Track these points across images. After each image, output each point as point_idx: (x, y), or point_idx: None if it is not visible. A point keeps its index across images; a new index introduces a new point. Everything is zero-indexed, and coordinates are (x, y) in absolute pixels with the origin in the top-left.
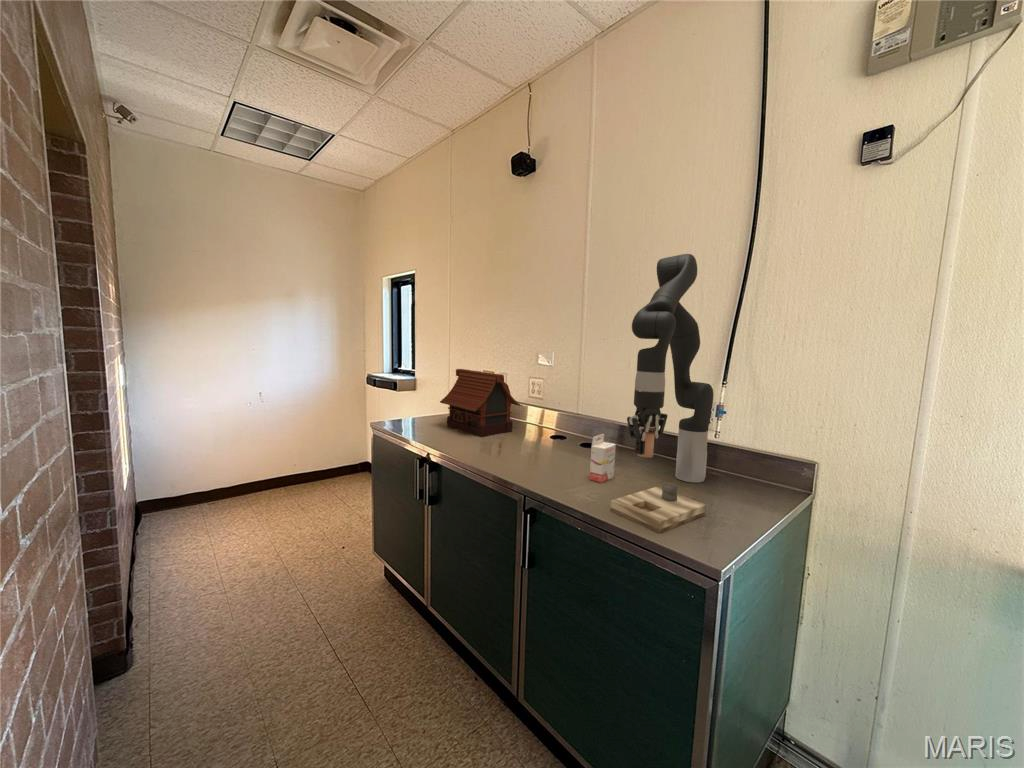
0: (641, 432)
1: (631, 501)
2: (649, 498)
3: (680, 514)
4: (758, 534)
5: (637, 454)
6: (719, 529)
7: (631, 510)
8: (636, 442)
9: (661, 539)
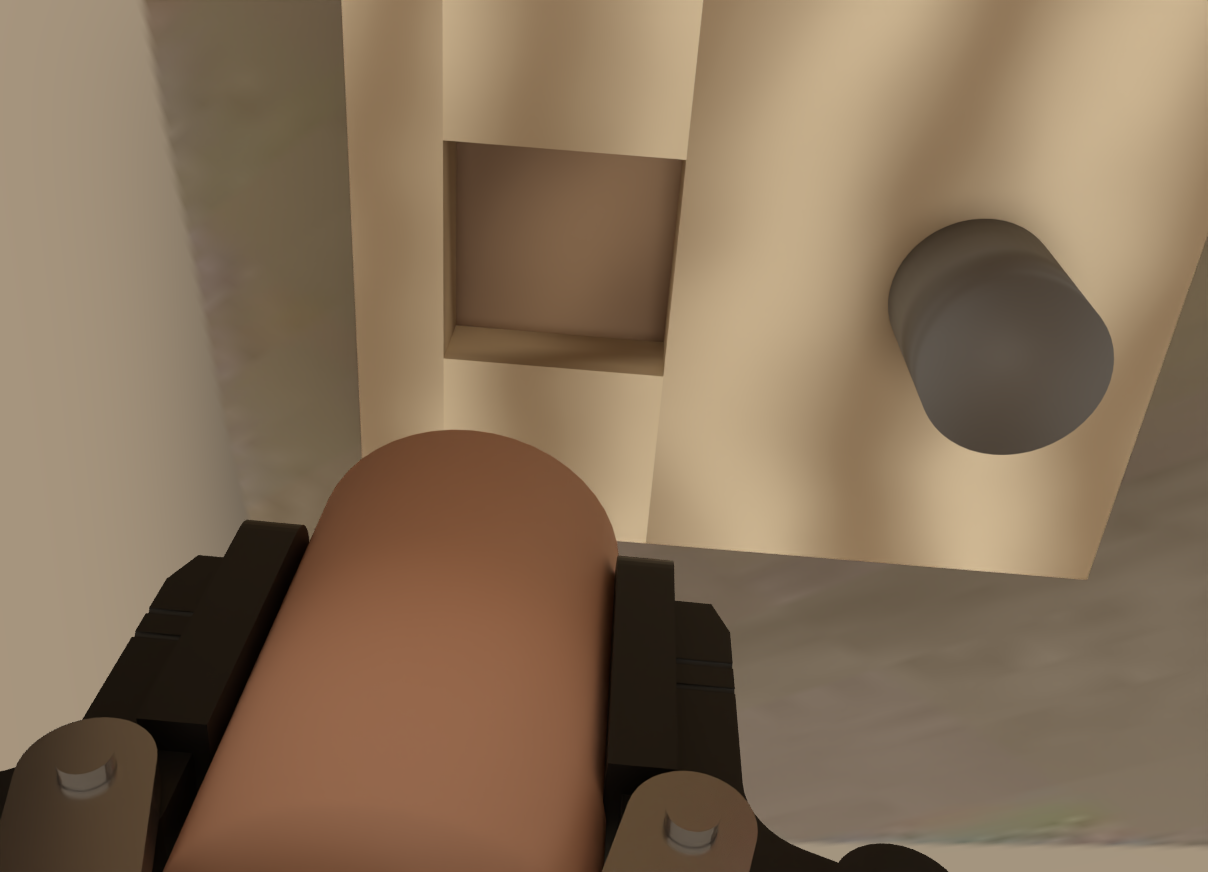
0: (307, 863)
1: (531, 76)
2: (798, 154)
3: (662, 543)
4: (969, 834)
5: (359, 463)
6: (844, 677)
7: (353, 207)
8: (95, 717)
9: (315, 515)
